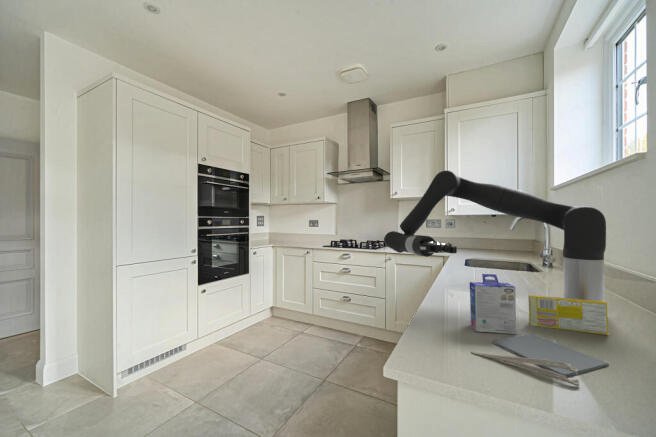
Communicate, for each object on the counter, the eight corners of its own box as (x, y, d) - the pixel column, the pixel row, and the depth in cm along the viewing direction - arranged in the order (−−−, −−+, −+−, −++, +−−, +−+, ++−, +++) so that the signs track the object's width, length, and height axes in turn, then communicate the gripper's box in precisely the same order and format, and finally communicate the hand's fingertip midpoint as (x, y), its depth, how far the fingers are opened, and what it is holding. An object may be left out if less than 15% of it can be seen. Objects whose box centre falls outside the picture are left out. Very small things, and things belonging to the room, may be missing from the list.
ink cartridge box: (508, 326, 74) (507, 273, 74) (518, 335, 68) (517, 278, 68) (469, 324, 76) (468, 272, 76) (475, 332, 70) (475, 276, 70)
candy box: (604, 332, 70) (604, 300, 70) (609, 336, 68) (608, 303, 68) (528, 323, 76) (528, 294, 76) (530, 325, 74) (530, 295, 74)
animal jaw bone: (577, 371, 50) (576, 361, 50) (580, 390, 46) (578, 380, 46) (474, 351, 61) (472, 343, 61) (469, 365, 58) (467, 357, 57)
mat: (531, 335, 68) (531, 333, 68) (608, 365, 54) (608, 363, 54) (492, 342, 64) (492, 340, 64) (564, 377, 50) (564, 374, 50)
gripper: (404, 235, 99) (437, 238, 82) (434, 234, 103) (471, 237, 86) (404, 256, 99) (437, 263, 82) (434, 254, 103) (471, 260, 86)
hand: (454, 249), depth 84 cm, fingers closed
